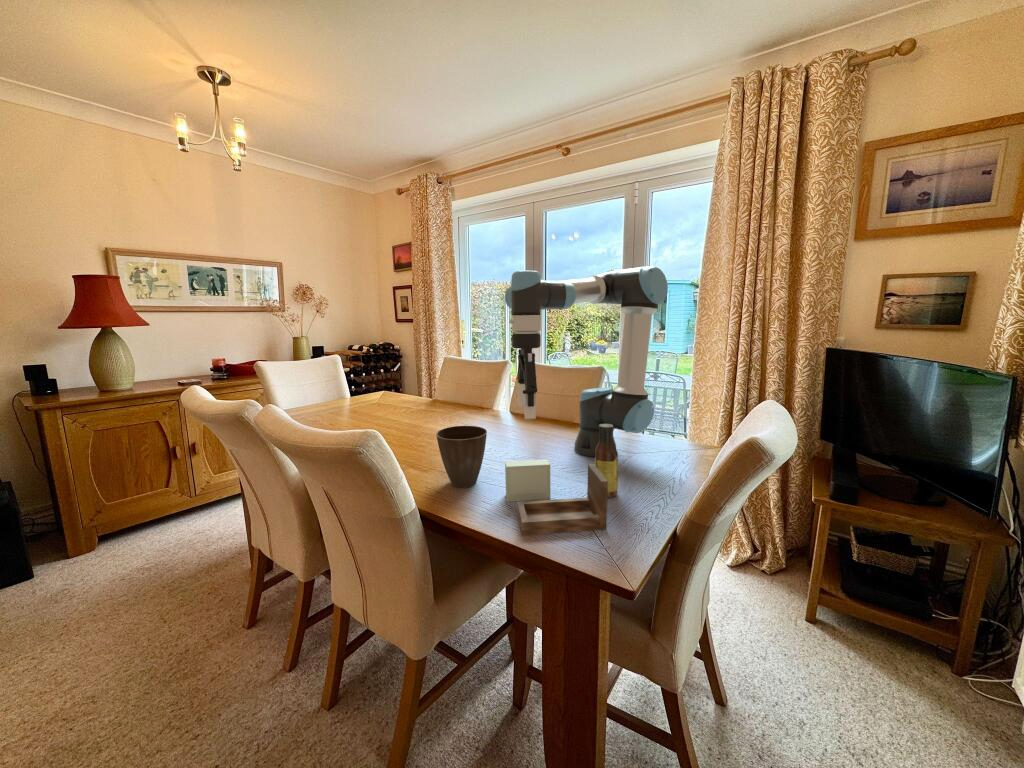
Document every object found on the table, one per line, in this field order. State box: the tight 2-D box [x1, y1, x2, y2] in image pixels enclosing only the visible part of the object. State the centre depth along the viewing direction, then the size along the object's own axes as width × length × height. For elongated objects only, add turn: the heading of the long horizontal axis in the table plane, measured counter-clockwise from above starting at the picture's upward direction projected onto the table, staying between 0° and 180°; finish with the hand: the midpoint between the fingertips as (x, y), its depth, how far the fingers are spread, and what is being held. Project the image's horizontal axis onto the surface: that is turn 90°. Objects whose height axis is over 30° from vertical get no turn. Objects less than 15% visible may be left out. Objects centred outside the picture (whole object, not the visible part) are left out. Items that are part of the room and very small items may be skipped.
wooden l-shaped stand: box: [516, 463, 608, 536], centre depth 99 cm, size 20×11×12 cm, turn 96°
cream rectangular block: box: [504, 458, 551, 502], centre depth 113 cm, size 12×4×10 cm, turn 96°
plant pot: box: [436, 425, 488, 489], centre depth 122 cm, size 15×15×16 cm
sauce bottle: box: [594, 424, 619, 499], centre depth 113 cm, size 7×6×20 cm
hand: (526, 412), depth 109 cm, fingers open, 13 cm apart
